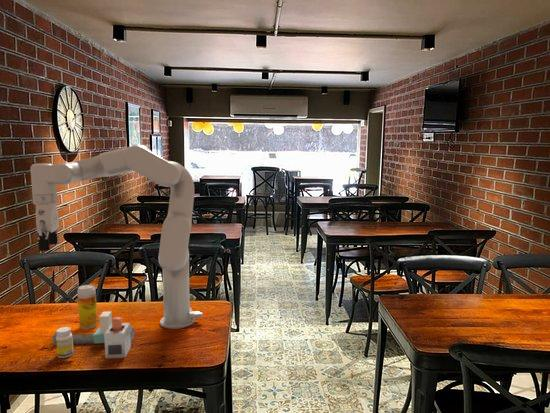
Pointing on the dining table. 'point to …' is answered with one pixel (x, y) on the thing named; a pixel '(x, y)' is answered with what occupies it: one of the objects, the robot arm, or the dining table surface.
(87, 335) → the rail
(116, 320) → the button
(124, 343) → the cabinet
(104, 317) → the carriage
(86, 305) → the beer can
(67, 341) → the supplement bottle
